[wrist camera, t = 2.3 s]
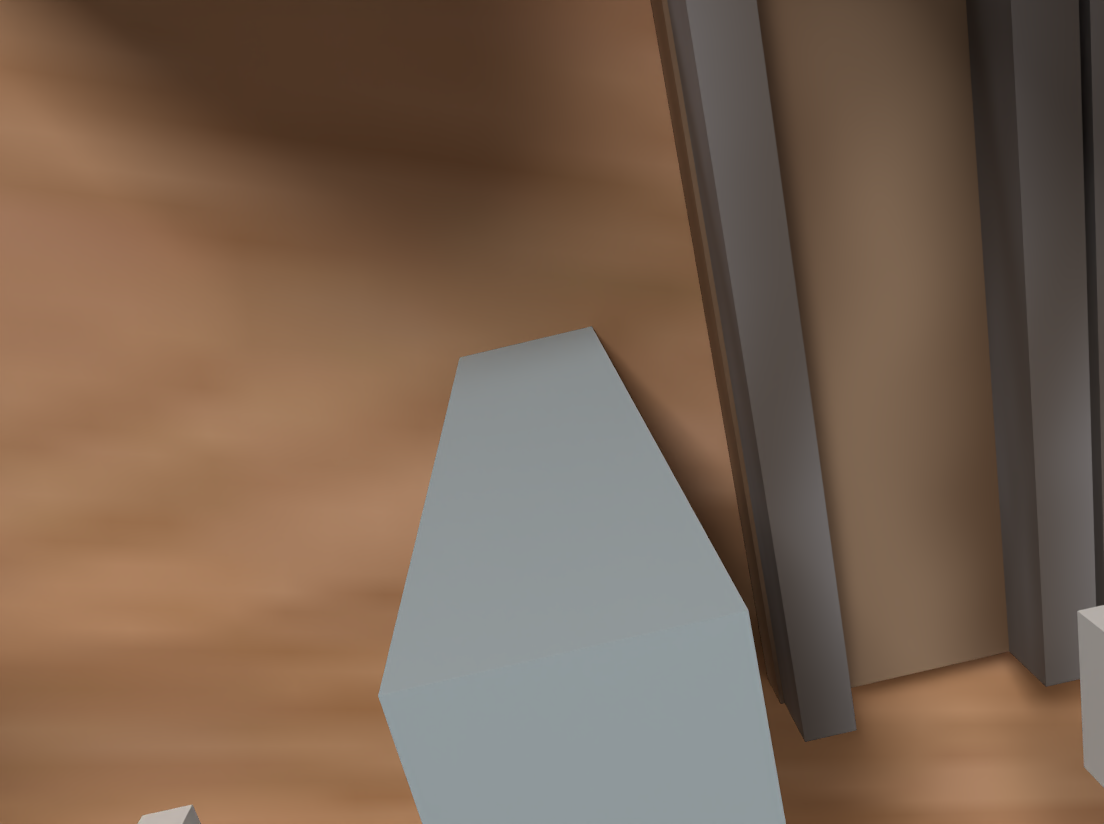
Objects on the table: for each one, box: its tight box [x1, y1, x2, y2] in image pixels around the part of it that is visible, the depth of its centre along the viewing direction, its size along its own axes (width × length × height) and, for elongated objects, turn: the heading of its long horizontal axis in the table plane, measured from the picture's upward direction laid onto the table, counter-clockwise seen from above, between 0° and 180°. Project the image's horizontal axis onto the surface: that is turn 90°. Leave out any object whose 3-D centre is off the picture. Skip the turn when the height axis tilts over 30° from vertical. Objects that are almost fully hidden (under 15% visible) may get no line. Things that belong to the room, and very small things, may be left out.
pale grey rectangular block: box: [378, 326, 786, 824], centre depth 14 cm, size 3×10×12 cm, turn 13°
